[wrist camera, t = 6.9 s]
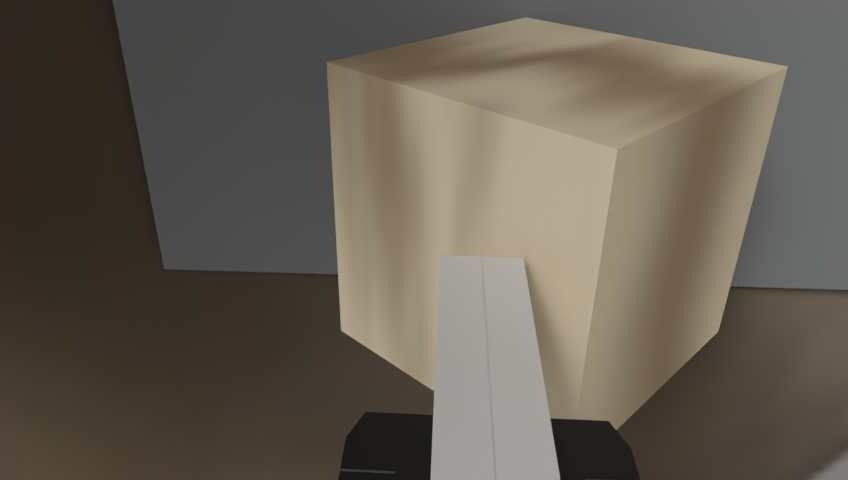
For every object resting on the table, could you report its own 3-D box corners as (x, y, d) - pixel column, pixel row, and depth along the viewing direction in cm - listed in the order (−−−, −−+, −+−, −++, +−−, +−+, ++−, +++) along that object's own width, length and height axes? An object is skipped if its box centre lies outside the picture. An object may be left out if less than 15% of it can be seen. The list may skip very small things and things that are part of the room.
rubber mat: (168, 263, 24) (164, 269, 24) (109, -51, 19) (103, -49, 19) (925, 285, 23) (932, 292, 23) (1059, -34, 19) (1070, -32, 18)
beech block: (340, 330, 18) (566, 477, 14) (326, 61, 15) (617, 149, 11) (507, 239, 23) (718, 331, 18) (525, 17, 19) (788, 66, 15)
